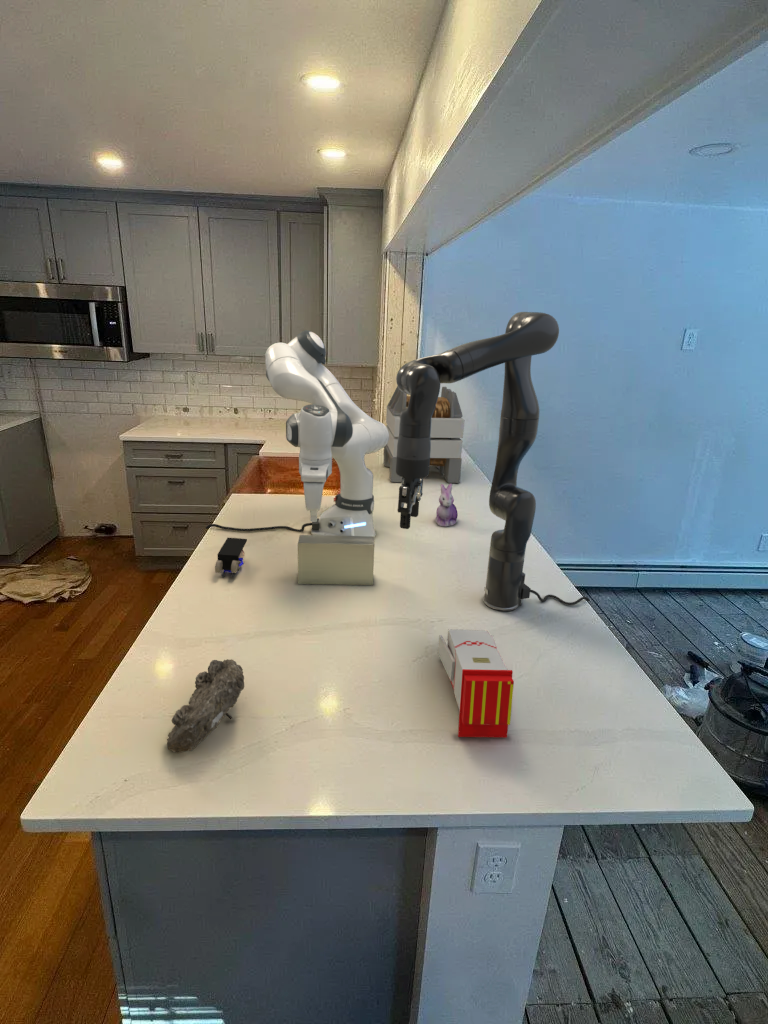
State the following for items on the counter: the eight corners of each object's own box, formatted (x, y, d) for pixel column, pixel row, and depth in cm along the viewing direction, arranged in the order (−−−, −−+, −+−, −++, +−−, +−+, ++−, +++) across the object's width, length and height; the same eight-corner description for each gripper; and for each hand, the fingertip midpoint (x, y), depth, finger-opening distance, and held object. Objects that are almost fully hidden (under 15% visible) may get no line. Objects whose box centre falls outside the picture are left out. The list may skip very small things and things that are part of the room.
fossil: (192, 660, 117) (244, 628, 112) (224, 691, 120) (276, 661, 115) (142, 746, 98) (202, 712, 93) (182, 779, 101) (242, 748, 96)
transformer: (382, 463, 289) (386, 382, 275) (445, 464, 293) (451, 384, 279) (390, 482, 257) (394, 392, 243) (460, 483, 261) (468, 394, 247)
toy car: (238, 584, 162) (249, 557, 175) (236, 562, 158) (247, 536, 172) (215, 584, 161) (227, 556, 175) (212, 561, 158) (225, 535, 171)
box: (298, 583, 161) (297, 542, 157) (300, 574, 167) (299, 534, 162) (372, 585, 162) (374, 544, 158) (372, 575, 168) (373, 536, 164)
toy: (488, 613, 130) (523, 677, 101) (484, 667, 133) (517, 744, 104) (435, 612, 130) (455, 676, 101) (432, 666, 133) (451, 743, 103)
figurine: (442, 528, 206) (446, 489, 201) (428, 519, 214) (431, 481, 209) (464, 525, 210) (468, 486, 205) (449, 516, 218) (452, 479, 213)
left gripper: (306, 456, 162) (306, 501, 167) (300, 477, 143) (300, 528, 148) (328, 457, 162) (327, 502, 167) (325, 478, 143) (324, 528, 148)
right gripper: (423, 464, 120) (418, 535, 125) (435, 449, 133) (431, 514, 138) (388, 460, 122) (385, 530, 127) (404, 446, 135) (401, 510, 140)
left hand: (314, 514), depth 157 cm, fingers open, 8 cm apart
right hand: (409, 521), depth 133 cm, fingers open, 8 cm apart
